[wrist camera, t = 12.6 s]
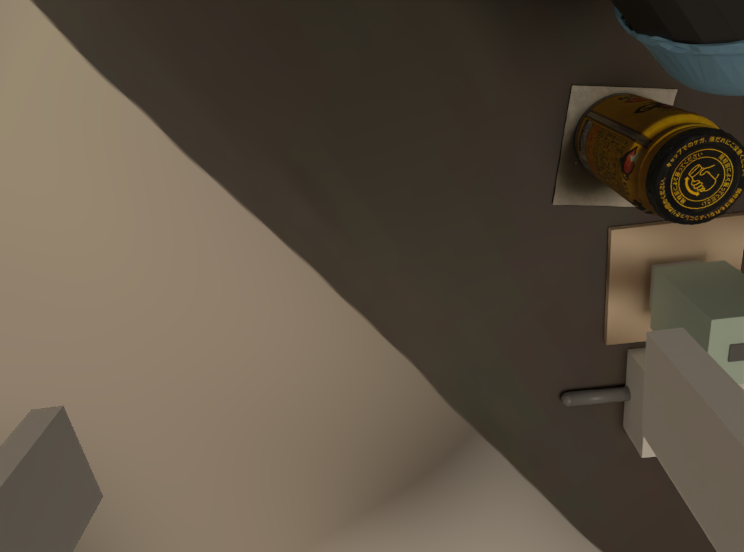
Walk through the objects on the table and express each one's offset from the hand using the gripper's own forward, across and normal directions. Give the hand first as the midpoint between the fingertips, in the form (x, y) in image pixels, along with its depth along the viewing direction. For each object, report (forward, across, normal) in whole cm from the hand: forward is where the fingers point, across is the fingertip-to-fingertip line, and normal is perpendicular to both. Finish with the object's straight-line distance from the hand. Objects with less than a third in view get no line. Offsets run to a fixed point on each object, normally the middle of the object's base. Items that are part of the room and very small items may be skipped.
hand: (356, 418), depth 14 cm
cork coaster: (+32, +22, -14) cm, 41 cm away
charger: (+31, +22, -14) cm, 41 cm away
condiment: (+32, +17, -3) cm, 36 cm away
